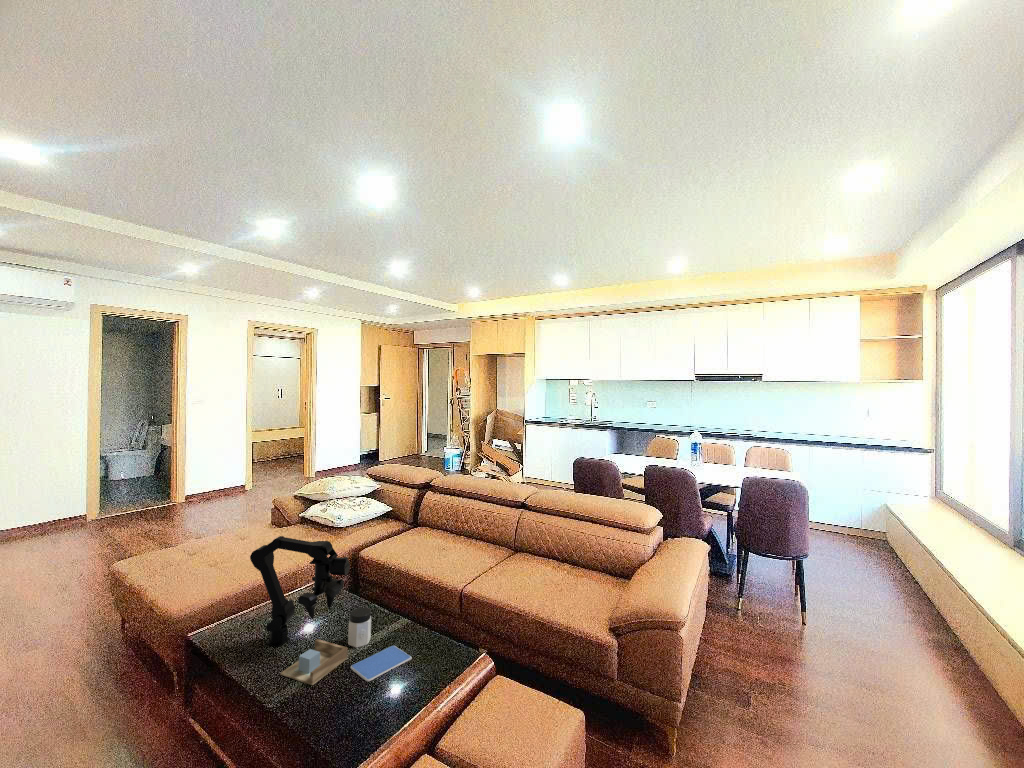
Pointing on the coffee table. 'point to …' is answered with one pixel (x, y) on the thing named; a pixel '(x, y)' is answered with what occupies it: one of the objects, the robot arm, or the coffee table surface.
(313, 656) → the cube
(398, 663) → the tablet computer
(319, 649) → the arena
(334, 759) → the coffee table surface
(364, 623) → the jar
